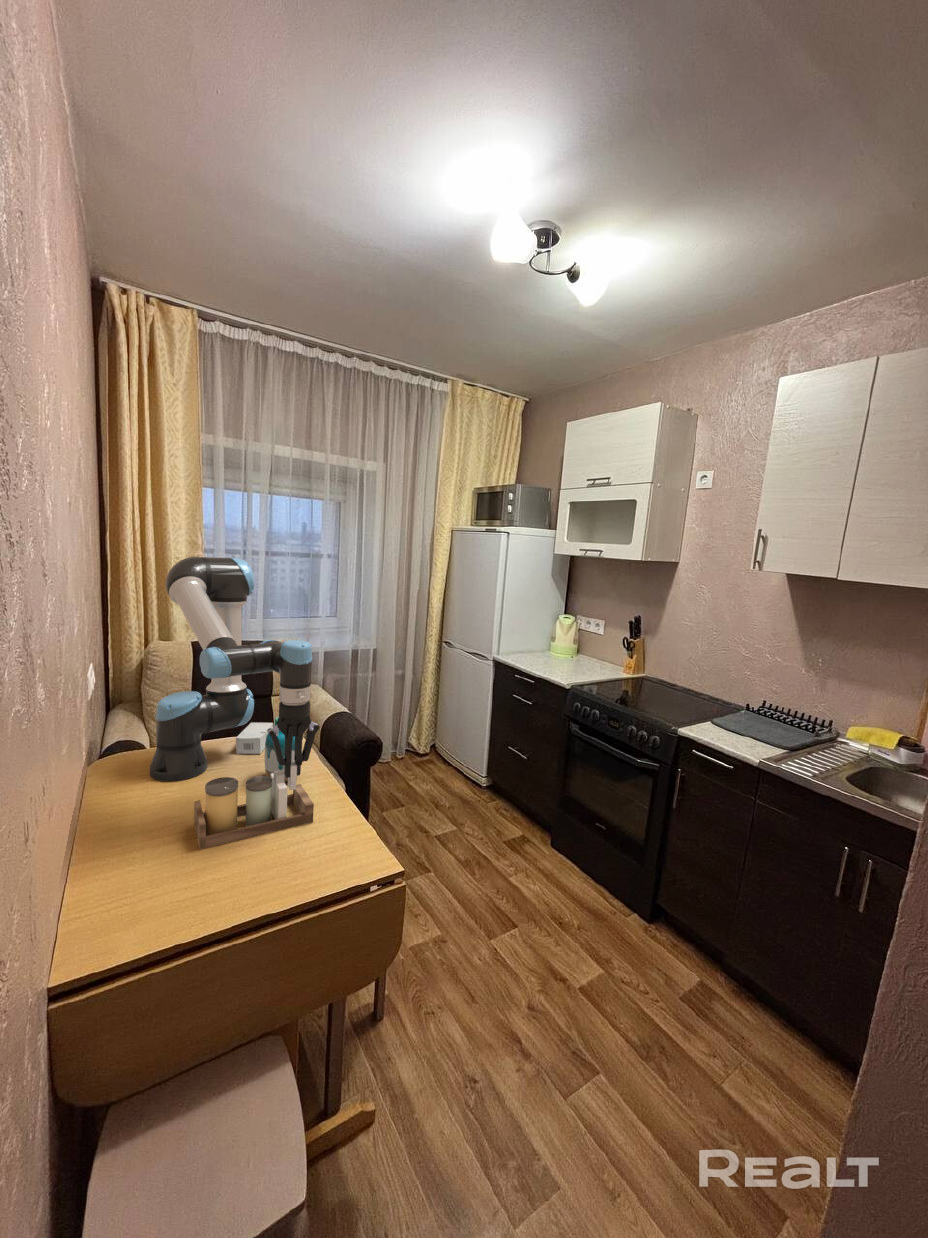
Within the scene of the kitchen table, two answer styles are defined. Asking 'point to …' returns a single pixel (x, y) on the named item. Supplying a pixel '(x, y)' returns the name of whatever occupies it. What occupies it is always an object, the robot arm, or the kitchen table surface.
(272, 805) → the plate
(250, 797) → the sage jar
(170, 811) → the kitchen table surface
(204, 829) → the wooden spice rack
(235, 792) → the amber jar
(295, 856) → the kitchen table surface
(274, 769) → the vase
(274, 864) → the kitchen table surface
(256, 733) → the skincare box
